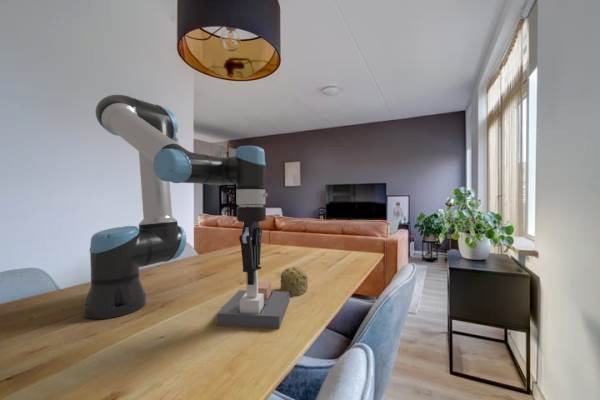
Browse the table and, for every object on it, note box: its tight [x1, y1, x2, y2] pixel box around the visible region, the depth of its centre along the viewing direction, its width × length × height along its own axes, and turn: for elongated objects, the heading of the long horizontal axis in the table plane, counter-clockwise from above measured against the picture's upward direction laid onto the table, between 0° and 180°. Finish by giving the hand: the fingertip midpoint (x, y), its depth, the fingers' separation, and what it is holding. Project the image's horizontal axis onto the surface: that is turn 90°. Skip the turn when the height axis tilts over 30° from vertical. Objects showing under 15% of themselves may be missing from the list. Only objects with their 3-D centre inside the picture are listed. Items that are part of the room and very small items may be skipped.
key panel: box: [216, 289, 290, 329], centre depth 75 cm, size 16×17×3 cm
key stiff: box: [258, 282, 272, 300], centre depth 79 cm, size 5×5×4 cm
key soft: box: [240, 293, 264, 314], centre depth 70 cm, size 5×5×4 cm
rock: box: [280, 266, 309, 297], centre depth 92 cm, size 10×11×10 cm
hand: (252, 295), depth 70 cm, fingers closed
